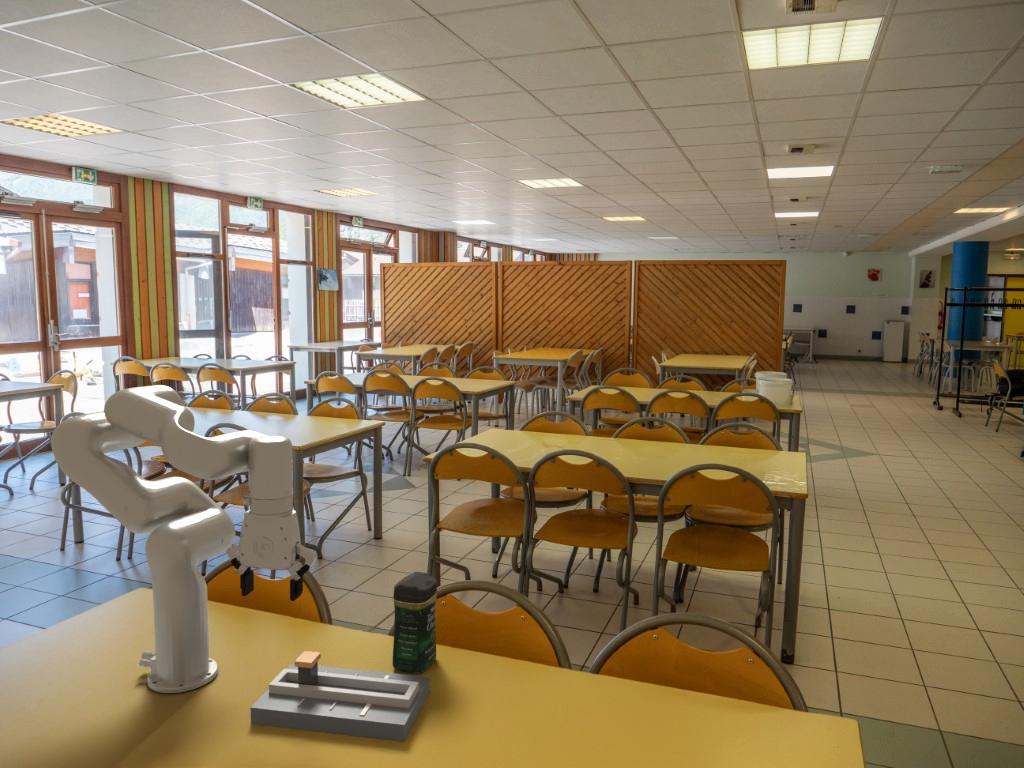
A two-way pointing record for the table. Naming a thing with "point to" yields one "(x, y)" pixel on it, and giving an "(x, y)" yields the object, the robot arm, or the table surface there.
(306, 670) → the fader
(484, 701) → the table surface
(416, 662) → the coffee jar
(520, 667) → the table surface
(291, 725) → the console
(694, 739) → the table surface
